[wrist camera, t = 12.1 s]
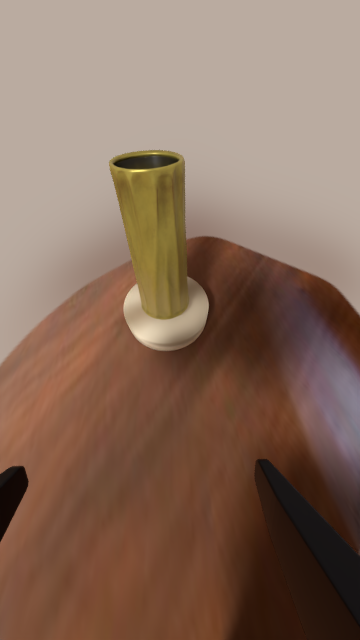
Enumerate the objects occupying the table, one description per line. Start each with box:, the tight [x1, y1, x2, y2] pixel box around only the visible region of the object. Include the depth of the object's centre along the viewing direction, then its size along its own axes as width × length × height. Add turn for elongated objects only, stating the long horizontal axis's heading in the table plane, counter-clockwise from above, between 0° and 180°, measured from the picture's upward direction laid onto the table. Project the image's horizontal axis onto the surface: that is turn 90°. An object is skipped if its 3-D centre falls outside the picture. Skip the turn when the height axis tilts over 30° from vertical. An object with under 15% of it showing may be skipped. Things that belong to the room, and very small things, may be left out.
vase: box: [109, 150, 189, 320], centre depth 19 cm, size 6×6×14 cm
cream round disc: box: [124, 277, 209, 351], centre depth 26 cm, size 11×11×3 cm
